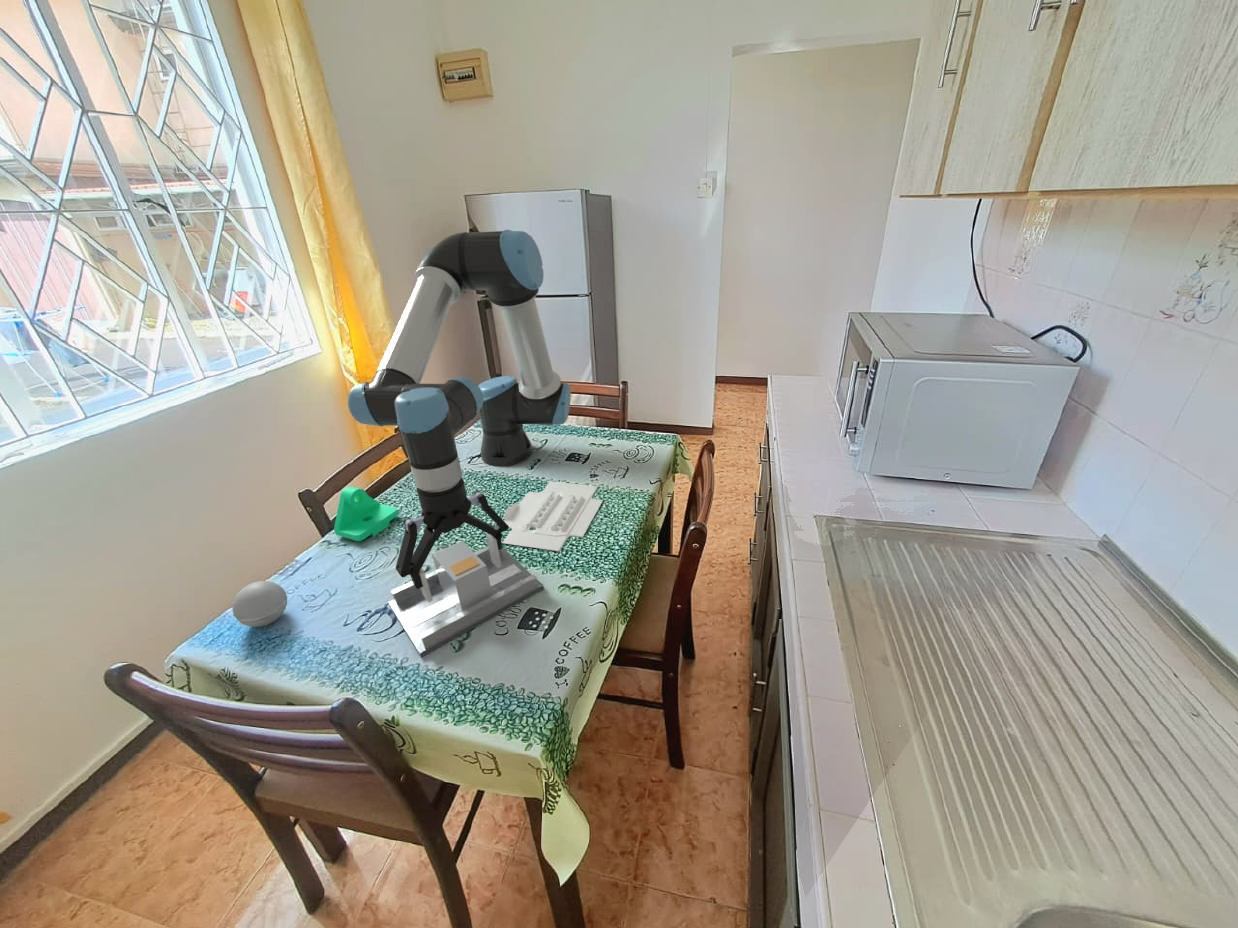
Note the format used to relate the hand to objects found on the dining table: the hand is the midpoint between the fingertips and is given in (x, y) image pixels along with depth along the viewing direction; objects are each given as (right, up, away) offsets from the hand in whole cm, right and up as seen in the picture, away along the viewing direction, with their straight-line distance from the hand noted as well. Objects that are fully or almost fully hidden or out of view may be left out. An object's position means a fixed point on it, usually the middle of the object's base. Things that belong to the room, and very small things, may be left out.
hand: (463, 580), depth 91 cm
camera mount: (-30, +6, +25) cm, 39 cm away
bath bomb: (-36, -7, -1) cm, 36 cm away
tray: (+13, +9, +27) cm, 32 cm away
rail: (0, -4, +2) cm, 4 cm away
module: (0, -3, +1) cm, 3 cm away
